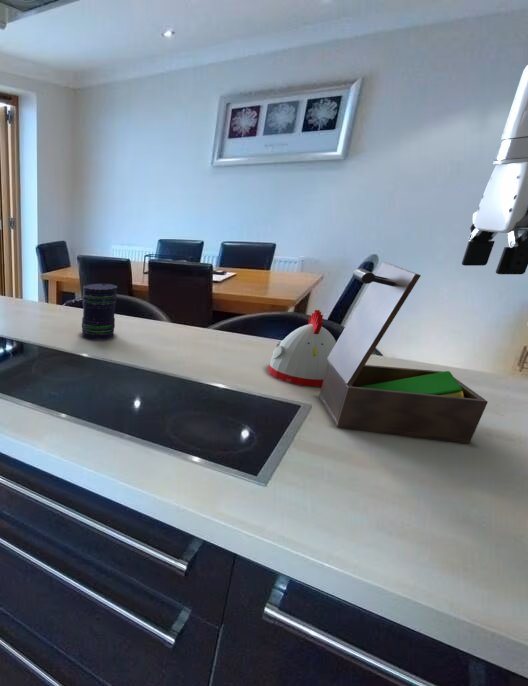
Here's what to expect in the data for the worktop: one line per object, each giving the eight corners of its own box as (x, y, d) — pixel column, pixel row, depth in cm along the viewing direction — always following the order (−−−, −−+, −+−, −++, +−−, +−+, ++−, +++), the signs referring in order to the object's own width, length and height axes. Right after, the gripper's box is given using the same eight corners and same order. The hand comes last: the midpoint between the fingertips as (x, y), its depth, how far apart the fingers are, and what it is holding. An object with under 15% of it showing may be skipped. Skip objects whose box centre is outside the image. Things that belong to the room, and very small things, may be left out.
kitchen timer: (272, 382, 98) (286, 316, 92) (264, 361, 110) (277, 302, 104) (346, 390, 93) (366, 321, 87) (330, 367, 105) (347, 305, 99)
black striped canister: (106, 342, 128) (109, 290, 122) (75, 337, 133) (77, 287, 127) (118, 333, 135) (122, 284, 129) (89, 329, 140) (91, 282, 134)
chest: (431, 409, 84) (446, 371, 81) (469, 444, 72) (488, 401, 69) (318, 397, 90) (328, 361, 87) (336, 427, 79) (348, 387, 76)
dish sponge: (465, 401, 72) (462, 389, 72) (361, 416, 81) (358, 405, 80) (451, 381, 78) (449, 370, 77) (355, 397, 86) (352, 387, 85)
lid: (387, 262, 78) (353, 254, 79) (421, 275, 66) (380, 265, 68) (331, 360, 87) (300, 351, 88) (351, 385, 75) (316, 375, 77)
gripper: (616, 143, 57) (560, 278, 63) (526, 154, 71) (488, 262, 78) (538, 148, 59) (492, 278, 65) (467, 158, 74) (435, 262, 80)
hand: (490, 269), depth 72 cm, fingers open, 9 cm apart
